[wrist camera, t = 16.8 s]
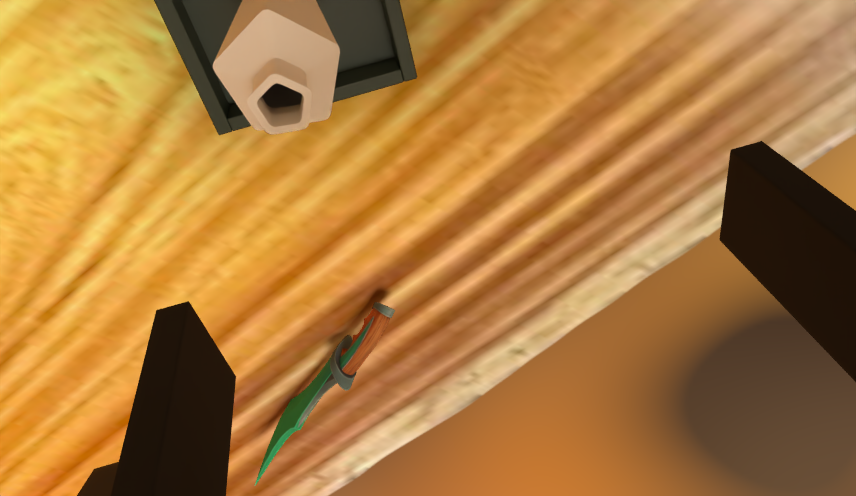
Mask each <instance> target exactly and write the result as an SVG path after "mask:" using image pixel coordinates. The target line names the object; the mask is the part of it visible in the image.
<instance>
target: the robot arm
mask: <svg viewBox="0 0 856 496" xmlns="http://www.w3.org/2000/svg"><path fill="white" fill-rule="evenodd" d="M720 241H721V242H722V243H723V244H724V245H725V246H726V247H727V248H728V249H729V250H730V251H731V252H732V253H733V254H734V255H735V257H736V258H737V259H738V260H739V261H740V262H741V263H742V264H743V265H744V266H745V267H746V268H747V269H748V270H749V271H750V272H751V273H752V274H753V275H754V276H755V277H756V278H757V279H758V281H759V282H760V283H761V284H762V285H763V286H764V287H765V288H766V289H767V290H768V291H769V292H770V293H771V294H772V295H773V296H774V297H775V298H776V299H777V300H778V301H779V302H780V303H781V304H782V305H783V307H784V308H785V309H786V310H787V311H788V312H789V313H790V314H791V315H792V316H793V317H794V318H795V319H796V320H797V321H798V322H799V323H800V324H801V325H802V326H803V327H804V328H805V329H806V331H807V332H808V333H809V334H810V335H811V336H812V337H813V338H814V339H815V340H816V341H817V342H818V343H819V344H820V345H821V346H822V347H823V348H824V349H825V350H826V351H827V352H828V353H829V354H830V356H832V358H833V359H834V360H835V361H836V362H837V363H838V364H839V365H840V366H841V367H842V368H843V369H844V370H845V371H846V372H847V373H848V374H849V375H850V376H851V377H852V378H853V379H854V381H855V382H856V211H855V210H854V209H852V208H851V207H850V206H848V205H847V204H846V203H844V202H843V201H842V200H840V199H839V198H838V197H836V196H835V195H834V194H832V193H831V192H829V191H828V190H827V189H826V188H824V187H823V186H821V185H820V184H819V183H817V182H816V181H815V180H813V179H812V178H811V177H809V176H808V175H807V174H805V173H804V172H803V171H801V170H800V169H799V168H797V167H796V166H795V165H793V164H792V163H791V162H789V161H788V160H786V159H785V158H784V157H782V156H781V155H780V154H778V153H777V152H776V151H774V150H773V149H772V148H770V147H769V146H768V145H766V144H765V143H764V142H762V141H761V142H757V143H753V144H750V145H746V146H743V147H739V148H736V149H732V150H731V152H730V160H729V168H728V176H727V184H726V192H725V200H724V208H723V216H722V224H721V232H720ZM235 381H236V376H235V374H234V373H233V371H232V370H231V368H230V366H229V365H228V363H227V362H226V360H225V358H224V357H223V355H222V354H221V352H220V350H219V349H218V347H217V346H216V344H215V342H214V341H213V339H212V338H211V336H210V335H209V333H208V331H207V330H206V328H205V327H204V325H203V323H202V322H201V320H200V319H199V317H198V315H197V314H196V312H195V311H194V309H193V307H192V306H191V304H190V303H189V301H188V302H184V303H181V304H177V305H174V306H170V307H167V308H163V309H159V310H156V314H155V318H154V322H153V326H152V330H151V334H150V338H149V342H148V346H147V350H146V355H145V359H144V363H143V367H142V371H141V375H140V379H139V383H138V387H137V391H136V395H135V399H134V403H133V407H132V411H131V415H130V419H129V423H128V427H127V431H126V435H125V439H124V443H123V447H122V451H121V455H120V459H119V462H117V463H113V464H110V465H106V466H103V467H99V468H96V469H94V470H93V472H92V473H91V475H90V476H89V478H88V479H87V481H86V482H85V484H84V486H83V487H82V489H81V490H80V492H79V493H78V495H77V496H226V486H227V474H228V463H229V451H230V439H231V427H232V416H233V404H234V392H235Z"/></svg>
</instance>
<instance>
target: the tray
mask: <svg viewBox="0 0 856 496" xmlns="http://www.w3.org/2000/svg"><path fill="white" fill-rule="evenodd" d="M154 1H155V3H156V5H157V7H158V9H159V11H160V14H161V16H162V18H163V20H164V22H165V24H166V26H167V28H168V30H169V32H170V34H171V36H172V39H173V41H174V43H175V45H176V47H177V49H178V51H179V53H180V55H181V57H182V59H183V61H184V64H185V66H186V68H187V70H188V72H189V74H190V76H191V78H192V80H193V82H194V84H195V86H196V89H197V91H198V93H199V95H200V97H201V99H202V101H203V103H204V105H205V107H206V109H207V111H208V114H209V116H210V118H211V120H212V122H213V124H214V126H215V128H216V130H217V132H218V134H219V135H221V134H225V133H228V132H232V130H233V131H235V130H238V129H242V128H245V127H249V126H251V124H250V123H249V122H248V120H247V119H246V117H245V116H244V114H243V113H242V111H241V110H240V108H239V107H238V105H237V104H236V102H235V101H234V100H233V98H232V97H231V95H230V94H229V92H228V91H227V89H226V88H225V86H224V85H223V83H222V82H221V81H220V79H219V78H218V76H217V75H216V73H215V72H214V69H213V63H214V61H215V58H216V56H217V54H218V52H219V50H220V48H221V45H222V43H223V41H224V39H225V37H226V35H227V32H228V30H229V28H230V26H231V24H232V22H233V19H234V17H235V15H236V13H237V11H238V9H239V6H240V4H241V2H242V0H154ZM316 1H317V3H318V6H319V8H320V10H321V12H322V14H323V16H324V18H325V20H326V22H327V24H328V26H329V28H330V30H331V32H332V34H333V36H334V38H335V40H336V42H337V44H338V46H339V48H340V55H339V62H338V69H337V76H336V82H335V89H334V96H333V102H336V101H339V100H343V99H346V98H350V97H353V96H357V95H360V94H364V93H367V92H371V91H374V90H378V89H381V88H385V87H388V86H392V85H395V84H399V83H402V82H404V81H409V80H412V79H416V78H417V73H416V69H415V65H414V61H413V56H412V52H411V48H410V44H409V39H408V35H407V31H406V26H405V22H404V18H403V14H402V9H401V5H400V1H399V0H316Z"/></svg>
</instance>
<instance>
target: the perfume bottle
mask: <svg viewBox="0 0 856 496" xmlns="http://www.w3.org/2000/svg"><path fill="white" fill-rule="evenodd" d="M339 55H340V48H339V46H338V44H337V42H336V40H335V38H334V36H333V34H332V32H331V30H330V28H329V26H328V24H327V22H326V20H325V18H324V16H323V14H322V12H321V10H320V8H319V6H318V3H317V1H316V0H242V2H241V4H240V6H239V9H238V11H237V13H236V15H235V17H234V19H233V22H232V24H231V26H230V28H229V30H228V32H227V35H226V37H225V39H224V41H223V43H222V45H221V48H220V50H219V52H218V54H217V56H216V58H215V61H214V63H213V69H214V72H215V73H216V75H217V76H218V78H219V79H220V81H221V82H222V83H223V85H224V86H225V88H226V89H227V91H228V92H229V94H230V95H231V97H232V98H233V100H234V101H235V102H236V104H237V105H238V107H239V108H240V110H241V111H242V113H243V114H244V116H245V117H246V119H247V120H248V122H249V123H250V124H251V126H252V127H253V128H254V129H256V130H264V131H265V132H266V133H269V134H280V133H286V132H292V131H298V130H303V129H306V128H307V127H308V125H309V123H311V122H317V121H323V120H326V119H328V118H329V117H330V114H331V109H332V102H333V96H334V89H335V82H336V76H337V69H338V62H339Z"/></svg>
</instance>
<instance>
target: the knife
mask: <svg viewBox="0 0 856 496" xmlns="http://www.w3.org/2000/svg"><path fill="white" fill-rule="evenodd" d="M394 312H395V310H394V309H392V308H390V307H388V306H385V305H383V304H381V303H377V302H375V303H374V305H373V308H372V311H371V312H370V314H369V315H368V317H366V318H365V319H364V325H363V327H362V329H361V330H360V332H359V333H358V334H357V335H353V340H352V338H351V336H349V335H347V336H346V337H345V338H344V339H343V340H342V341H341V342H340V344H339V345H338V346H337V347H336V349H335V350H334V352H333V353H332V356H331V357H330V359H329V360H328V362H327V363H326V365H325V366H324V367H323V369H322V370H321V372H320V373H319V374H318V375H317V377H316V378H315V379H314V380H313V381H312V383H311V384H310V385H309V386H308V387H307V388H306V389H305V390H304V391H303V392H302V393H300V394H299V395H298V396H296V397H294V398H293V399H291V400H290V402H289V404H288V405H287V407H286V409H285V411H284V413H283V414H282V416H281V418H280V420H279V422H278V425H277V427H276V429H275V431H274V434H273V436H272V439H271V441H270V444H269V446H268V449H267V452H266V454H265V457H264V460H263V463H262V465H261V468H260V471H259V474H258V477H257V480H256V484H257V482H258V481H259V479H260V478H261V476H262V475H263V473H264V472H265V470H266V468H267V467H268V465H269V464H270V462H271V461H272V459H273V458H274V456H275V455H276V453H277V452H278V450H279V449H280V448H281V446H282V445H283V444H284V442H285V441H286V440H287V439H288V437H289V436H290V435H291V434H292V433H294V432H295V431H297V430H301V428H302V426H303V424H304V422H305V420H306V419H307V417H308V416H309V414H310V413H311V411H312V410H313V408H314V407H315V406H316V404H317V403H318V401H319V400H320V399H321V397H322V396H323V395H324V394H325V393H326V392H327V391H328V390H329V389H330V388H332V387H333V386H334V385H335V384H337V383H338V384H339V386H340V387H341V388H342V389H344V390H349V389H350V387H351V385H352V382H353V380H354V377H355V375H356V372H357V370H358V369H359V367H360V366H361V365H362V363H363V362H364V361H365V359H366V358H367V357H368V355H369V354H370V353H371V352H372V350H373V349H374V347H375V346H376V344H377V343H378V341H379V339H380V338H381V336H382V334H383V332H384V330H385V328H386V326H387V324H388V322H389V320H390V318H392V316H393V314H394ZM256 484H255V485H256Z"/></svg>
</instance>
